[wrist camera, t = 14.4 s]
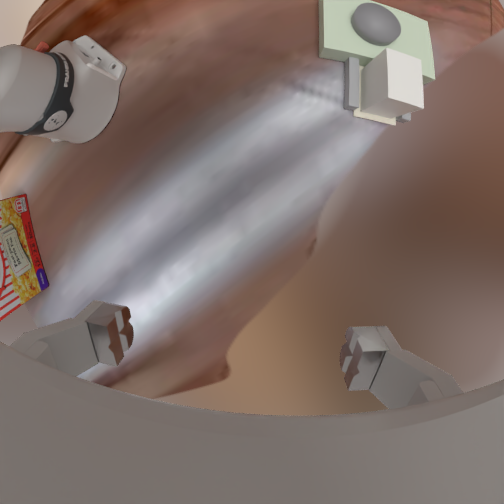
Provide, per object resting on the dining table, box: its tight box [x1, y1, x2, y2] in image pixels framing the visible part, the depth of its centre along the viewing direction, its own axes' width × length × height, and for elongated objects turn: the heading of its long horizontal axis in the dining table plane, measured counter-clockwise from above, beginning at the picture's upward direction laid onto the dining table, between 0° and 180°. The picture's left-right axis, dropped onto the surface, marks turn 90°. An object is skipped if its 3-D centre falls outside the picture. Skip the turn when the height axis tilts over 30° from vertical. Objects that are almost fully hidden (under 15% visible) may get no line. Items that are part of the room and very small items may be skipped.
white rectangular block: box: [360, 48, 424, 119], centre depth 27 cm, size 7×5×10 cm
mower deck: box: [319, 0, 435, 126], centre depth 28 cm, size 21×18×6 cm
